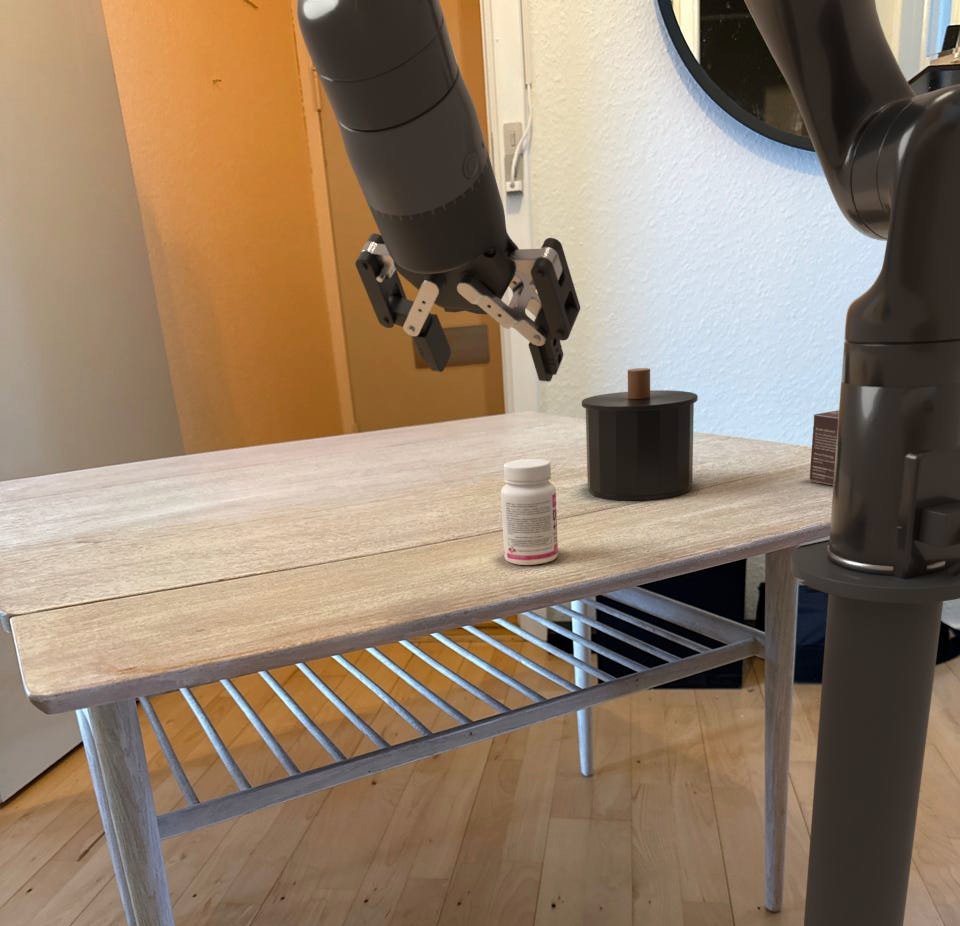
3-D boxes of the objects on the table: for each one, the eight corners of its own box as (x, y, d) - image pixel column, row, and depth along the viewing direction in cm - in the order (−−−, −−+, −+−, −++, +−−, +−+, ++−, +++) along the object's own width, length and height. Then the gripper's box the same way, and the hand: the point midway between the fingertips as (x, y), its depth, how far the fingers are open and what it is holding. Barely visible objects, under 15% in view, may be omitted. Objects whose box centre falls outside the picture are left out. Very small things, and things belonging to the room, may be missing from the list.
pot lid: (721, 406, 97) (722, 366, 95) (620, 421, 92) (619, 379, 91) (655, 397, 107) (655, 360, 106) (561, 409, 103) (560, 371, 102)
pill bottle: (567, 560, 79) (564, 463, 76) (517, 569, 78) (511, 471, 75) (544, 547, 84) (540, 455, 81) (496, 556, 82) (490, 462, 79)
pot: (712, 489, 100) (714, 401, 97) (622, 506, 96) (621, 414, 93) (654, 473, 110) (654, 392, 107) (570, 487, 106) (567, 403, 103)
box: (849, 473, 103) (854, 406, 100) (892, 481, 98) (899, 411, 95) (807, 481, 101) (812, 413, 98) (850, 490, 96) (855, 419, 93)
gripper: (559, 119, 51) (603, 335, 65) (344, 125, 56) (427, 323, 70) (514, 213, 48) (570, 418, 62) (293, 209, 54) (389, 398, 67)
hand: (494, 367), depth 66 cm, fingers open, 8 cm apart
